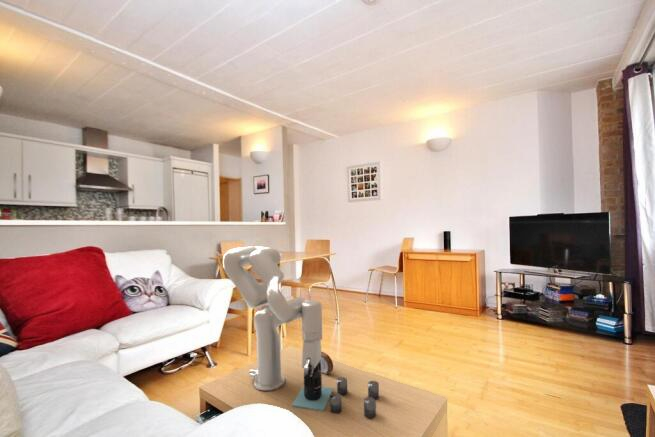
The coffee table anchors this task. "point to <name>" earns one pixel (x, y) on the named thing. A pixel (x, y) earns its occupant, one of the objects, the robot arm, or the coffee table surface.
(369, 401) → the cylinder
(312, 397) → the supplement bottle
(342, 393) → the cylinder
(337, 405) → the cylinder
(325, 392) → the teal board
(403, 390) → the coffee table surface
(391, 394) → the coffee table surface
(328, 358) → the tin
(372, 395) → the spacer back right
